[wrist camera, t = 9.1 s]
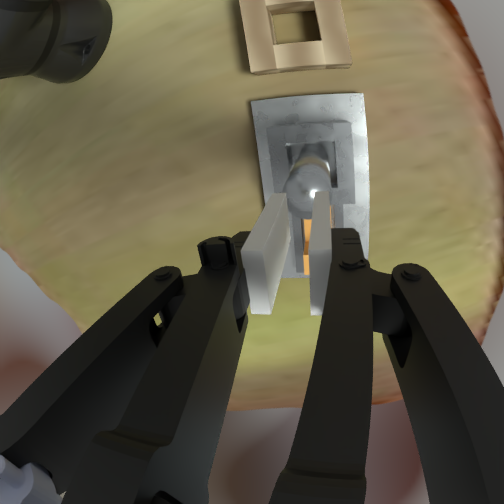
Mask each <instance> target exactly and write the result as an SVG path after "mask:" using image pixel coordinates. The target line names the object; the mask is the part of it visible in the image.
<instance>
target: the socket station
mask: <svg viewBox="0 0 504 504" xmlns="http://www.w3.org/2000/svg"><path fill="white" fill-rule="evenodd" d="M251 106H252V113H253V120H254V127H255V134H256V140H257V148H258V155H259V162H260V169H261V176H262V184H263V191H264V199H265V205H266V204H267V202H268V200H269V198H270V196H271V195H272V194H273V193H282V190H283V186H284V184H285V182H286V180H287V178H288V176H289V174H290V172H291V170H292V168H293V166H294V164H295V162H296V160H297V158H298V156H299V154H300V152H301V150H302V149H303V148H304V147H305V146H307V145H310V144H316V145H319V146H321V147H323V148H324V149H325V150H326V152H327V154H328V159H329V168H330V177H331V187H332V202H331V228H354V229H355V230H356V231H358V232H359V235H360V239H361V244H362V248H363V253H364V257H365V259H367V260H368V246H369V162H368V143H367V129H366V117H365V106H364V97H363V93H348V94H321V95H305V96H293V97H283V98H274V99H265V100H258V101H251ZM288 216H289V227H290V238H291V239H290V243H289V247H288V251H287V255H286V259H285V263H284V267H283V271H282V275H281V278H310V275H304V259H303V254H304V247H305V229H304V219H301V218H298V217H296V216H294V215H292V214H291V213H290V212H289V211H288Z"/></svg>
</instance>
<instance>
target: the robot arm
mask: <svg viewBox="0 0 504 504" xmlns="http://www.w3.org/2000/svg"><path fill="white" fill-rule="evenodd" d="M111 28H112V12H111V8H110V6H109V4H108V2H107V1H106V0H0V79H4V78H10V77H17V76H24V75H32V76H35V77H38V78H41V79H44V80H48V81H50V82H53V83H67V82H73V81H76V80H78V79H80V78H82V77H83V76H85V75H86V74H87V73H88V72H89V71H90V70H91V69H92V68H93V67H94V66H95V64H96V63H97V62H98V60H99V59H100V57H101V55H102V54H103V52H104V50H105V48H106V45H107V43H108V40H109V37H110V33H111ZM290 239H291V238H290V227H289V216H288V206H287V196H286V193H273V194H272V195H271V196H270V198H269V200H268V202H267V204H266V205H265V207H264V209H263V211H262V213H261V214H260V216H259V218H258V220H257V222H256V224H255V225H254V227H253V229H252V231H244V232H239V233H237V234H236V235H234V236H233V237H232V238H230V237H227V236H218V237H212V238H209V239H206V240H204V241H202V242H200V243H199V244H198V245H197V247H198V251H199V255H200V260H201V264H202V267H201V269H200V270H199V272H198V274H194V275H188V276H183V277H182V274H181V271H180V269H179V268H178V267H174V266H165V267H161V268H159V269H157V270H155V271H153V272H152V273H150V274H149V275H148V276H147V277H146V278H145V279H143V280H142V281H141V282H140V283H139V284H138V285H136V286H135V287H134V288H133V289H132V290H131V291H130V292H128V293H127V294H126V295H125V296H124V297H123V298H122V299H121V300H119V301H118V302H117V303H116V304H115V305H114V306H113V307H112V308H111V309H109V310H108V311H107V312H106V313H105V314H104V315H103V316H102V317H101V318H100V319H98V320H97V321H96V322H95V323H94V324H93V325H92V326H91V327H90V328H89V329H88V330H87V331H85V332H84V333H83V334H82V335H81V336H80V337H79V338H78V339H77V340H76V341H75V342H74V343H73V344H72V345H71V346H70V347H69V348H68V349H66V351H64V352H63V353H62V354H61V355H60V356H59V357H58V358H57V359H56V360H55V361H54V362H53V363H52V364H51V365H50V366H49V367H48V368H47V369H46V370H45V371H44V372H43V373H42V374H41V375H40V376H39V377H38V378H37V379H36V380H35V381H34V382H33V383H32V384H31V385H30V386H29V387H28V388H27V389H26V390H25V391H24V392H23V393H22V394H21V396H20V397H19V398H18V399H17V400H16V401H15V402H14V403H13V404H12V405H11V406H10V407H9V408H8V409H7V410H6V411H5V412H4V413H3V414H2V415H0V504H208V503H209V494H208V479H209V475H210V471H211V467H212V464H213V460H214V456H215V452H216V448H217V444H218V440H219V437H220V433H221V428H222V425H223V421H224V417H225V413H226V409H227V405H228V401H229V397H230V393H231V389H232V385H233V381H234V377H235V373H236V369H237V365H238V361H239V357H240V353H241V349H242V345H243V341H244V337H245V332H246V328H247V324H248V315H247V308H248V305H249V303H250V308H251V314H271V312H272V308H273V305H274V301H275V297H276V293H277V290H278V286H279V282H280V278H281V275H282V271H283V267H284V263H285V259H286V255H287V251H288V247H289V243H290ZM308 254H309V275H310V303H311V315H322V319H321V325H320V330H319V335H318V340H317V345H316V350H315V355H314V360H313V365H312V369H311V374H310V378H309V382H308V387H307V391H306V395H305V399H304V403H303V407H302V411H301V416H300V420H299V423H298V427H297V431H296V434H295V438H294V442H293V445H292V448H291V452H290V455H289V459H288V462H287V464H286V466H285V468H284V470H283V471H282V472H281V473H280V476H279V477H278V480H277V482H276V485H275V488H274V490H273V493H272V496H271V499H270V501H269V504H364V501H365V495H366V477H365V463H366V456H367V448H368V447H367V446H368V438H369V429H370V417H371V416H370V415H371V402H372V382H373V331H374V332H378V333H382V336H383V340H384V343H385V346H386V348H387V351H388V354H389V357H390V360H391V362H392V365H393V368H394V371H395V374H396V377H397V380H398V383H399V386H400V389H401V392H402V395H403V398H404V402H405V405H406V408H407V411H408V415H409V418H410V422H411V425H412V429H413V432H414V435H415V440H416V443H417V448H418V451H419V455H420V459H421V464H422V468H423V472H424V477H425V481H426V486H427V491H428V496H429V502H430V504H504V387H503V385H502V383H501V381H500V380H499V377H498V376H497V374H496V372H495V370H494V368H493V367H492V365H491V363H490V361H489V360H488V358H487V356H486V354H485V353H484V351H483V349H482V348H481V346H480V344H479V343H478V341H477V340H476V338H475V336H474V335H473V333H472V332H471V330H470V329H469V327H468V326H467V324H466V322H465V321H464V319H463V318H462V317H461V315H460V314H459V312H458V311H457V309H456V308H455V306H454V305H453V303H452V302H451V301H450V299H449V298H448V296H447V295H446V294H445V292H444V291H443V290H442V288H441V287H440V285H439V284H438V283H437V281H436V280H435V279H434V277H433V276H432V275H431V274H430V272H429V271H428V270H427V269H425V268H424V267H422V266H420V265H418V264H413V263H404V264H400V265H397V266H396V267H394V268H393V271H392V274H387V273H382V272H378V271H376V270H373V269H372V268H370V264H369V261H368V260H367V259H365V257H364V253H363V248H362V244H361V239H360V235H359V232H358V231H356V230H355V229H354V228H331V219H330V201H329V191H316V192H314V203H313V212H312V222H311V231H310V240H309V248H308ZM157 313H159V316H160V318H161V321H162V323H161V324H160V325H158V326H157V325H156V323H155V321H154V318H153V317H154V316H155V315H156V314H157ZM65 491H66V493H65V495H64V498H62V497H61V496H60V494H62V493H64V492H65Z"/></svg>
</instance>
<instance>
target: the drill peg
mask: <svg viewBox="0 0 504 504" xmlns="http://www.w3.org/2000/svg"><path fill="white" fill-rule="evenodd" d="M316 191H329V201H330V205H331V202H332V187H331V177H330V168H329V159H328V154H327V152H326V150H325V149H324V148H323V147H321V146H319V145H316V144H310V145H307V146H305V147H304V148H303V149H302V150H301V152H300V154H299V156H298V158H297V160H296V162H295V164H294V166H293V168H292V170H291V172H290V174H289V176H288V178H287V180H286V182H285V184H284V186H283V190H282V193H286V196H287V206H288V211H289V212H290V213H291V214H292V215H294V216H296V217H298V218H301V219H306V220H310V219H312V212H313V203H314V192H316Z"/></svg>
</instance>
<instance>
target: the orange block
mask: <svg viewBox="0 0 504 504" xmlns="http://www.w3.org/2000/svg"><path fill="white" fill-rule="evenodd" d="M330 219H331V205H330ZM311 222H312V219H310V220H306V219H304V229H305V247H304V254H303V259H304V275H309V254H308V248H309V240H310V231H311Z"/></svg>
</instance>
